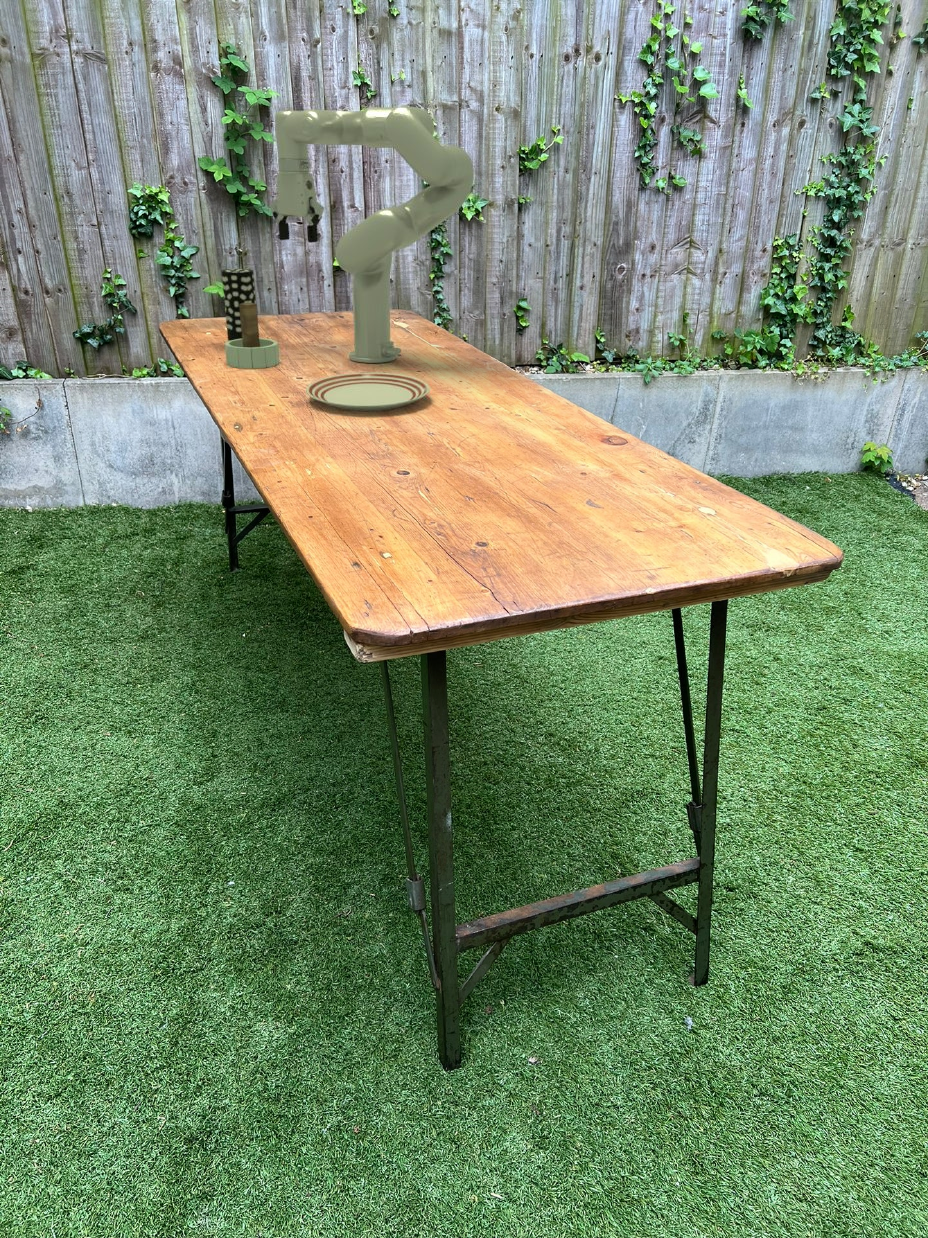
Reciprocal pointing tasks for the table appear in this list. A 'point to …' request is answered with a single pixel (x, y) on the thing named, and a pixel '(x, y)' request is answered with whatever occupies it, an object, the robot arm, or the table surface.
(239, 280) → the white-spotted black cylinder
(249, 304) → the wooden rectangular post
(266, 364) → the green faceted socket ring
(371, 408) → the dinner plate
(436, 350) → the table surface
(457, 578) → the table surface
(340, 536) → the table surface
